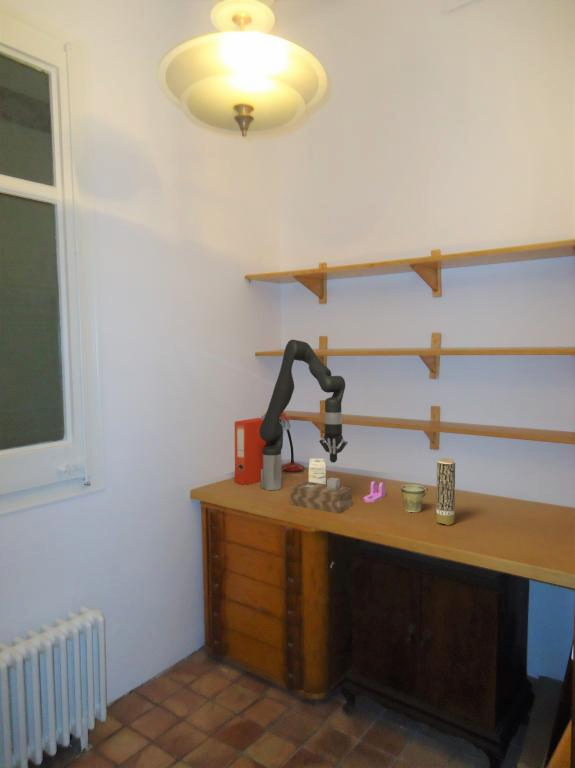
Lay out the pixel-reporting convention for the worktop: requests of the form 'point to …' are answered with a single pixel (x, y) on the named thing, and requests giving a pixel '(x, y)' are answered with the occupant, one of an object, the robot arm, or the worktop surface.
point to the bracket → (375, 492)
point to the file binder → (248, 451)
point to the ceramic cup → (413, 497)
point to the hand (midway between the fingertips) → (333, 462)
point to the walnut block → (321, 497)
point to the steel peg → (333, 484)
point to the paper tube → (445, 491)
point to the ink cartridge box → (317, 471)
